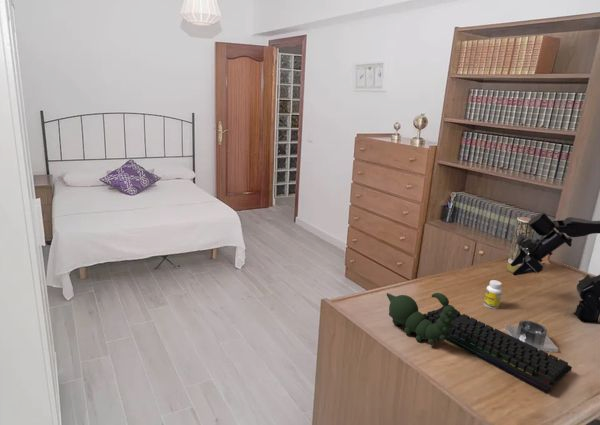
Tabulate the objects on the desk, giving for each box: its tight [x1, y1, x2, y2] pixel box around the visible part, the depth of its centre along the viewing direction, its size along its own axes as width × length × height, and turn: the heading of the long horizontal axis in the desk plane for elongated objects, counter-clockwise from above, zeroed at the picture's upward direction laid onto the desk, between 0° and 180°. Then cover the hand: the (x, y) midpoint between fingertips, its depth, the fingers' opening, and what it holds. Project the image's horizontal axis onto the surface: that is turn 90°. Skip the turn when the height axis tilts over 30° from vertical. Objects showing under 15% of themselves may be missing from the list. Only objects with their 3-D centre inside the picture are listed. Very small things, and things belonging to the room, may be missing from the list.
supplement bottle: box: [483, 279, 503, 310], centre depth 161 cm, size 5×5×10 cm
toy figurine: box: [386, 292, 458, 346], centre depth 139 cm, size 9×19×25 cm
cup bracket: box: [504, 320, 559, 353], centre depth 141 cm, size 12×12×5 cm
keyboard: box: [422, 305, 573, 395], centre depth 135 cm, size 42×16×5 cm, turn 40°
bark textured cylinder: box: [506, 216, 534, 274], centre depth 192 cm, size 7×7×25 cm
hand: (512, 269), depth 162 cm, fingers open, 9 cm apart
